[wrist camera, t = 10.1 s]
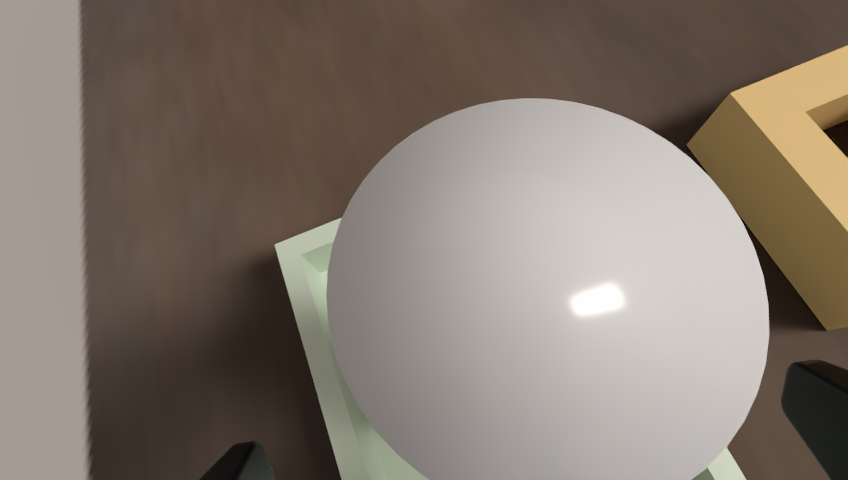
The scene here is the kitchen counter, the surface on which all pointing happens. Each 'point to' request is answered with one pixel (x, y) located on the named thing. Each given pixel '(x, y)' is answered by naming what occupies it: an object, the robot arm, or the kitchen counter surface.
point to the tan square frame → (789, 175)
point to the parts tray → (347, 425)
